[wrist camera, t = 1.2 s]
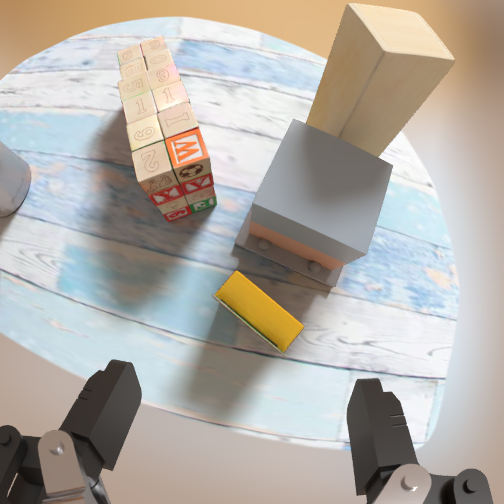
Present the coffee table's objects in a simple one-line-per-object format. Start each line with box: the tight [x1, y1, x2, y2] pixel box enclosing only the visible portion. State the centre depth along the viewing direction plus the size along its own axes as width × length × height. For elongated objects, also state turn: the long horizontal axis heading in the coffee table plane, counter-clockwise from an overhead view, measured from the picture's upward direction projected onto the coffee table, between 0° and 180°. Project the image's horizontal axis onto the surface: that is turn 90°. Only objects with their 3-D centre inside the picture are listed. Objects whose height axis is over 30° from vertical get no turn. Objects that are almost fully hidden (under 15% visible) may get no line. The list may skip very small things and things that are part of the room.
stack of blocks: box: [117, 36, 217, 222], centre depth 32 cm, size 21×6×12 cm, turn 20°
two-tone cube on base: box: [235, 119, 393, 288], centre depth 31 cm, size 12×12×11 cm
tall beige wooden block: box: [306, 3, 455, 157], centre depth 28 cm, size 8×7×21 cm
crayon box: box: [212, 271, 304, 356], centre depth 28 cm, size 7×3×12 cm, turn 50°
